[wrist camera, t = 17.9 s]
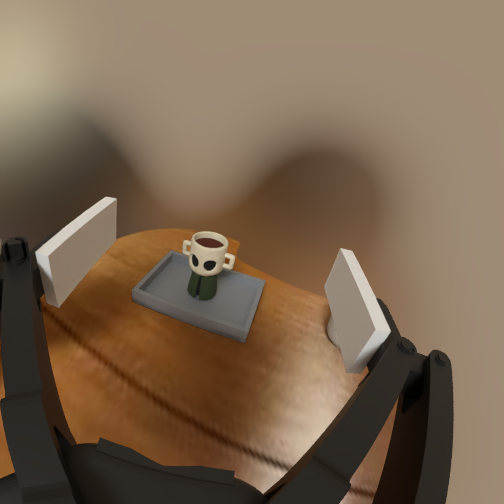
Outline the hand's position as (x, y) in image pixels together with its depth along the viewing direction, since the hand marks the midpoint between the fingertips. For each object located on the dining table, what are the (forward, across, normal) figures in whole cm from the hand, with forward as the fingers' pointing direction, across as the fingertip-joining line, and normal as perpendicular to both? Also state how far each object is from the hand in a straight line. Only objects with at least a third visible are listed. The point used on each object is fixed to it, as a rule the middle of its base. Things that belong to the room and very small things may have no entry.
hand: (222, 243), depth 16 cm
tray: (+34, -4, -32) cm, 47 cm away
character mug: (+34, -4, -31) cm, 46 cm away
